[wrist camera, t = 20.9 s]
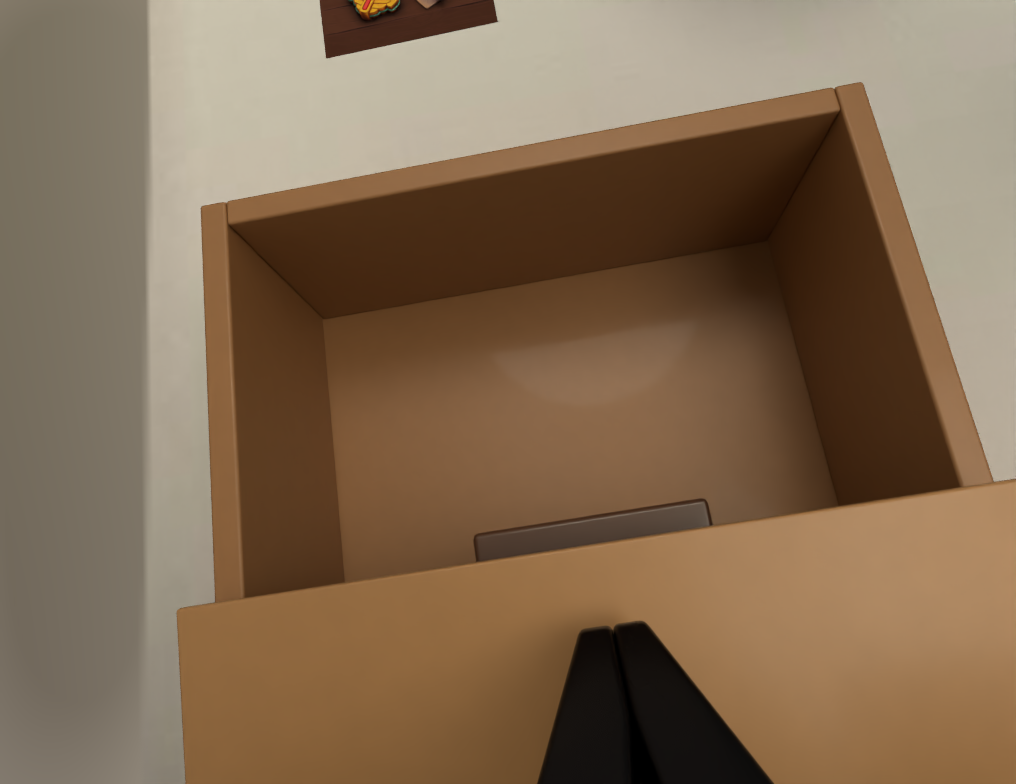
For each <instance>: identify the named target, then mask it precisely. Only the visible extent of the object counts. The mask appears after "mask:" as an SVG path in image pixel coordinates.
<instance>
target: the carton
mask: <svg viewBox="0 0 1016 784" xmlns="http://www.w3.org/2000/svg"><path fill="white" fill-rule="evenodd" d="M201 227H202V254H203V281H204V309H205V336H206V363H207V391H208V418H209V445H210V473H211V500H212V527H213V554H214V582H215V602H221V601H228V600H234V599H241V598H247V597H254V596H260V595H267V594H273V593H280V592H286V591H293V590H299V589H305V588H312V587H318V586H325V585H331V584H338V583H344V582H351V581H357V580H364V579H370V578H377V577H383V576H390V575H396V574H403V573H409V572H415V571H422V570H428V569H435V568H441V567H448V566H454V565H461V564H467V563H474V562H476V557H475V550H474V542H473V539H474V535H476V534H478V533H483V532H489V531H495V530H502V529H508V528H515V527H521V526H527V525H534V524H540V523H546V522H553V521H559V520H565V519H572V518H578V517H584V516H591V515H597V514H603V513H610V512H616V511H622V510H629V509H635V508H641V507H648V506H654V505H660V504H667V503H673V502H680V501H686V500H692V499H699V498H703V499H706V501H707V502H708V505H709V509H710V514H711V518H712V523H713V525H719V524H726V523H732V522H739V521H745V520H752V519H758V518H765V517H771V516H778V515H784V514H791V513H797V512H804V511H810V510H817V509H823V508H829V507H836V506H842V505H849V504H855V503H862V502H868V501H875V500H881V499H888V498H894V497H901V496H907V495H914V494H920V493H926V492H933V491H939V490H946V489H952V488H959V487H965V486H972V485H978V484H985V483H991V482H994V481H993V478H992V475H991V472H990V469H989V466H988V463H987V460H986V457H985V454H984V451H983V448H982V444H981V441H980V438H979V435H978V432H977V429H976V426H975V423H974V420H973V417H972V414H971V411H970V408H969V405H968V402H967V399H966V396H965V393H964V390H963V387H962V384H961V381H960V377H959V374H958V371H957V368H956V365H955V362H954V359H953V356H952V353H951V350H950V347H949V344H948V341H947V338H946V335H945V332H944V329H943V326H942V323H941V320H940V317H939V314H938V310H937V307H936V304H935V301H934V298H933V295H932V292H931V289H930V286H929V283H928V280H927V277H926V274H925V271H924V268H923V265H922V262H921V259H920V256H919V253H918V250H917V246H916V243H915V240H914V237H913V234H912V231H911V228H910V225H909V222H908V219H907V216H906V213H905V210H904V207H903V204H902V201H901V198H900V195H899V192H898V189H897V186H896V183H895V179H894V176H893V173H892V170H891V167H890V164H889V161H888V158H887V155H886V152H885V149H884V146H883V143H882V140H881V137H880V134H879V131H878V128H877V125H876V122H875V119H874V116H873V112H872V109H871V106H870V103H869V100H868V97H867V94H866V91H865V88H864V85H863V83H861V82H859V83H853V84H848V85H843V86H838V87H836V88H835V89H833V88H827V89H822V90H816V91H811V92H806V93H800V94H795V95H790V96H784V97H779V98H774V99H768V100H763V101H758V102H753V103H747V104H742V105H737V106H731V107H726V108H721V109H715V110H710V111H705V112H699V113H694V114H689V115H684V116H678V117H673V118H668V119H662V120H657V121H652V122H646V123H641V124H636V125H630V126H625V127H620V128H615V129H609V130H604V131H599V132H593V133H588V134H583V135H577V136H572V137H567V138H561V139H556V140H551V141H546V142H540V143H535V144H530V145H524V146H519V147H514V148H508V149H503V150H498V151H492V152H487V153H482V154H476V155H471V156H466V157H461V158H455V159H450V160H445V161H439V162H434V163H429V164H423V165H418V166H413V167H407V168H402V169H397V170H392V171H386V172H381V173H376V174H370V175H365V176H360V177H354V178H349V179H344V180H338V181H333V182H328V183H323V184H317V185H312V186H307V187H301V188H296V189H291V190H285V191H280V192H275V193H269V194H264V195H259V196H254V197H248V198H243V199H238V200H232V201H229V202H228V203H224V202H222V203H216V204H211V205H206V206H202V207H201Z"/></svg>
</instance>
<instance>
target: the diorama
mask: <svg viewBox="0 0 1016 784" xmlns="http://www.w3.org/2000/svg"><path fill="white" fill-rule="evenodd" d="M320 8H321V17H322V26H323V34H324V43H325V52H326V58H330V57H335V56H340V55H344V54H349V53H354V52H358V51H363V50H368V49H372V48H377V47H382V46H386V45H391V44H396V43H400V42H405V41H410V40H414V39H419V38H424V37H428V36H433V35H438V34H442V33H447V32H452V31H456V30H461V29H466V28H470V27H475V26H480V25H484V24H489V23H494V22H498V21H497V16H496V11H495V6H494V1H493V0H320Z"/></svg>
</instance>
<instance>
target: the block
mask: <svg viewBox="0 0 1016 784" xmlns="http://www.w3.org/2000/svg"><path fill="white" fill-rule="evenodd" d="M707 526H713V523H712V518H711V514H710V509H709V505H708V502H707V501H706V499H703V498H699V499H692V500H686V501H680V502H673V503H667V504H660V505H654V506H648V507H641V508H635V509H629V510H622V511H616V512H610V513H603V514H597V515H591V516H584V517H578V518H572V519H565V520H559V521H553V522H546V523H540V524H534V525H527V526H521V527H515V528H508V529H502V530H495V531H489V532H483V533H478V534H476V535H474V539H473V542H474V550H475V557H476V562H480V561H487V560H493V559H500V558H506V557H512V556H519V555H525V554H532V553H538V552H545V551H551V550H558V549H564V548H571V547H577V546H584V545H590V544H597V543H603V542H610V541H616V540H622V539H629V538H635V537H642V536H648V535H655V534H661V533H668V532H674V531H681V530H687V529H694V528H700V527H707Z"/></svg>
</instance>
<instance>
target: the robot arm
mask: <svg viewBox="0 0 1016 784" xmlns="http://www.w3.org/2000/svg"><path fill="white" fill-rule="evenodd" d="M537 784H774V783H773V781H772V780H771V779H770V778H769V776H768V775H767V774H766V772H765V771H764V770H763V769H762V767H761V766H760V765H759V764H758V762H757V761H756V760H755V759H754V757H753V756H752V755H751V754H750V752H749V751H748V750H747V749H746V747H745V746H744V745H743V743H742V742H741V741H740V740H739V738H738V737H737V736H736V735H735V733H734V732H733V731H732V730H731V728H730V727H729V726H728V725H727V723H726V722H725V721H724V719H723V718H722V717H721V716H720V714H719V713H718V712H717V711H716V709H715V708H714V707H713V706H712V704H711V703H710V702H709V701H708V699H707V698H706V697H705V696H704V694H703V693H702V692H701V690H700V689H699V688H698V687H697V685H696V684H695V683H694V682H693V680H692V679H691V678H690V677H689V675H688V674H687V673H686V672H685V670H684V669H683V668H682V666H681V665H680V664H679V663H678V661H677V660H676V659H675V658H674V656H673V655H672V654H671V653H670V651H669V650H668V649H667V648H666V646H665V645H664V644H663V643H662V641H661V640H660V639H659V637H658V636H657V635H656V634H655V632H654V631H653V630H652V629H651V627H650V626H649V625H648V624H647V623H646V622H644V621H640V620H639V621H632V622H625V623H618V624H616V625H615V626H614V628H613V630H612V628H611V627H610V626H606V625H605V626H598V627H591V628H585V629H582V630H581V631H580V632H579V634H578V637H577V640H576V644H575V647H574V651H573V655H572V658H571V662H570V666H569V669H568V673H567V676H566V680H565V684H564V687H563V691H562V695H561V698H560V702H559V705H558V709H557V713H556V716H555V720H554V724H553V727H552V731H551V734H550V738H549V742H548V745H547V749H546V753H545V756H544V760H543V763H542V767H541V771H540V774H539V778H538V782H537Z"/></svg>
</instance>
